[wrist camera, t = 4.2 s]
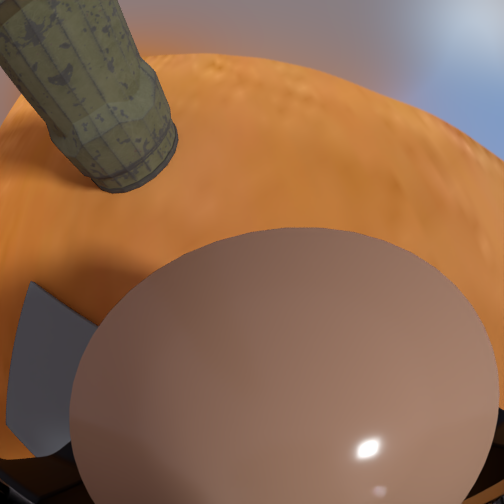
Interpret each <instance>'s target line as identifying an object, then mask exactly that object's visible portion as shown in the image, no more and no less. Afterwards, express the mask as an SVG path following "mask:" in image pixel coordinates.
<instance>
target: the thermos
mask: <svg viewBox="0 0 504 504" xmlns="http://www.w3.org/2000/svg"><path fill="white" fill-rule="evenodd" d="M0 66H1V67H2V69H3V70H4V71H5V73H6V74H7V75H8V77H9V78H10V79H11V81H12V82H13V83H14V85H16V87H17V88H18V90H19V91H20V92H21V93H22V95H23V96H24V97H25V98H26V100H27V101H28V102H29V103H30V105H31V106H32V107H33V108H34V109H35V111H36V112H37V113H38V114H39V115H40V117H41V118H42V119H43V120H44V121H45V122H46V125H47V128H48V131H49V134H50V137H51V140H52V142H53V143H54V144H55V145H56V146H57V147H58V149H59V150H60V151H61V152H62V153H63V154H64V155H65V156H66V157H67V158H68V159H69V160H70V161H71V162H72V163H73V164H74V165H75V166H76V167H77V168H78V169H79V171H80V172H81V173H82V174H83V175H84V176H87V177H91V180H92V181H93V182H94V183H95V184H96V185H97V186H98V187H99V188H100V189H101V190H103V191H106V192H109V193H124V192H128V191H131V190H133V189H136V188H139V187H141V186H143V185H144V184H146V183H147V182H149V181H150V180H152V179H153V178H155V177H156V176H157V175H158V174H159V173H160V172H161V171H162V170H163V169H164V168H165V167H166V166H167V165H168V163H169V161H170V160H171V158H172V156H173V155H174V153H175V151H176V147H177V143H178V134H177V129H176V126H175V124H174V123H173V121H172V119H171V113H170V107H169V104H168V102H167V99H166V97H165V95H164V92H163V90H162V87H161V85H160V82H159V80H158V77H157V75H156V72H155V71H154V70H153V69H152V68H151V67H150V65H148V64H147V63H146V62H145V61H144V60H143V59H142V58H141V57H140V55H139V52H138V50H137V47H136V45H135V43H134V40H133V38H132V35H131V33H130V30H129V28H128V26H127V23H126V21H125V18H124V16H123V13H122V11H121V8H120V6H119V3H118V1H117V0H0Z"/></svg>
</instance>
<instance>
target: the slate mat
mask: <svg viewBox="0 0 504 504" xmlns="http://www.w3.org/2000/svg"><path fill="white" fill-rule="evenodd" d="M98 327H99V326H97V325H95V324H94V323H92V322H91V321H89V320H87V319H86V318H84V317H83V316H81V315H80V314H78V313H77V312H75V311H74V310H72V309H71V308H69V307H68V306H66V305H65V304H63V303H62V302H61V301H59V300H58V299H56V298H55V297H54V296H52V295H51V294H49V293H48V292H47V291H45V290H44V289H43V288H41V287H40V286H39V285H38V284H36V283H35V282H32V281H31V282H30V285H29V288H28V291H27V294H26V297H25V301H24V304H23V308H22V312H21V316H20V319H19V324H18V328H17V332H16V337H15V342H14V347H13V353H12V359H11V365H10V372H9V380H8V390H7V404H6V425H7V426H8V427H9V429H10V430H11V431H12V432H13V433H14V434H15V436H16V437H17V438H18V439H19V440H20V441H21V442H22V443H23V444H24V445H25V446H26V447H27V448H28V449H29V450H30V452H31V453H32V454H33V455H35V456H36V457H43V456H48V455H51V454H53V453H55V452H57V451H58V450H60V449H61V448H62V447H63V446H65V445H66V444H67V443H68V442H70V441H71V437H70V425H69V407H70V400H71V393H72V387H73V382H74V378H75V375H76V372H77V369H78V366H79V363H80V360H81V357H82V355H83V353H84V351H85V349H86V347H87V345H88V343H89V341H90V339H91V338H92V336H93V334H94V333H95V331H96V330H97V328H98Z"/></svg>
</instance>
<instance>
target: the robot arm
mask: <svg viewBox="0 0 504 504" xmlns="http://www.w3.org/2000/svg"><path fill="white" fill-rule="evenodd" d="M0 504H95V503H94V502H93V500H92V498H91V497H90V495H89V493H88V491H87V489H86V487H85V485H84V483H83V481H82V478H81V476H80V473H79V470H78V467H77V464H76V461H75V458H74V454H73V449H72V443H71V441H70V442H68V443H67V444H66V445H65V446H63V447H62V448H61V449H60V450H58V451H57V452H55V453H53V454H51V455H48V456H43V457H35V458H26V459H14V460H6V459H1V458H0ZM461 504H504V410H502V409H501V408H498V419H497V424H496V429H495V433H494V438H493V442H492V445H491V448H490V450H489V453H488V456H487V459H486V461H485V464H484V466H483V468H482V470H481V472H480V474H479V476H478V478H477V480H476V482H475V484H474V485H473V487H472V489H471V490H470V492H469V493H468V495H467V496H466V498H465V499H464V501H463V502H462V503H461Z"/></svg>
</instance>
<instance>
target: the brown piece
mask: <svg viewBox="0 0 504 504" xmlns="http://www.w3.org/2000/svg"><path fill="white" fill-rule="evenodd" d="M498 408H499V380H498V370H497V365H496V361H495V356H494V352H493V348H492V345H491V343H490V340H489V337H488V335H487V332H486V330H485V327H484V325H483V324H482V322H481V320H480V318H479V317H478V315H477V313H476V312H475V310H474V308H473V307H472V305H471V304H470V302H469V301H468V300H467V299H466V298H465V296H464V295H463V294H462V293H461V292H460V290H459V289H458V288H457V287H456V286H455V285H454V284H453V283H452V282H451V281H450V280H449V279H448V278H446V277H445V276H444V275H443V274H442V273H441V272H440V271H438V270H437V269H436V268H435V267H433V266H432V265H430V264H429V263H427V262H426V261H424V260H422V259H421V258H419V257H418V256H416V255H414V254H413V253H411V252H409V251H407V250H404V249H402V248H400V247H398V246H395V245H393V244H391V243H388V242H386V241H384V240H380V239H377V238H373V237H369V236H366V235H362V234H359V233H355V232H349V231H342V230H334V229H326V228H280V229H272V230H265V231H257V232H250V233H246V234H242V235H239V236H235V237H231V238H227V239H223V240H220V241H216V242H214V243H211V244H209V245H206V246H204V247H201V248H199V249H196V250H194V251H192V252H189V253H187V254H184V255H182V256H181V257H179V258H177V259H175V260H174V261H172V262H170V263H168V264H167V265H165V266H163V267H161V268H160V269H158V270H156V271H155V272H153V273H152V274H151V275H149V276H148V277H147V278H146V279H144V280H143V281H142V282H140V283H139V284H138V285H137V286H135V287H134V288H133V289H131V290H130V291H129V292H128V293H127V294H126V295H125V296H124V297H123V298H122V299H121V300H120V301H119V302H118V303H117V304H116V305H115V307H114V308H113V309H112V310H111V311H110V312H109V313H108V314H107V316H106V317H105V319H104V320H103V321H102V323H101V324H100V326H99V327H98V328H97V330H96V331H95V333H94V334H93V336H92V338H91V339H90V341H89V343H88V345H87V347H86V349H85V351H84V353H83V355H82V357H81V360H80V363H79V366H78V369H77V372H76V375H75V378H74V382H73V387H72V393H71V400H70V407H69V425H70V437H71V443H72V449H73V454H74V458H75V461H76V464H77V467H78V470H79V473H80V476H81V478H82V481H83V483H84V485H85V487H86V489H87V491H88V493H89V495H90V497H91V498H92V500H93V502H94V503H95V504H461V503H462V502H463V501H464V499H465V498H466V496H467V495H468V493H469V492H470V490H471V489H472V487H473V485H474V484H475V482H476V480H477V478H478V476H479V474H480V472H481V470H482V468H483V466H484V464H485V461H486V459H487V456H488V453H489V450H490V448H491V445H492V442H493V438H494V433H495V429H496V424H497V419H498Z"/></svg>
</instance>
